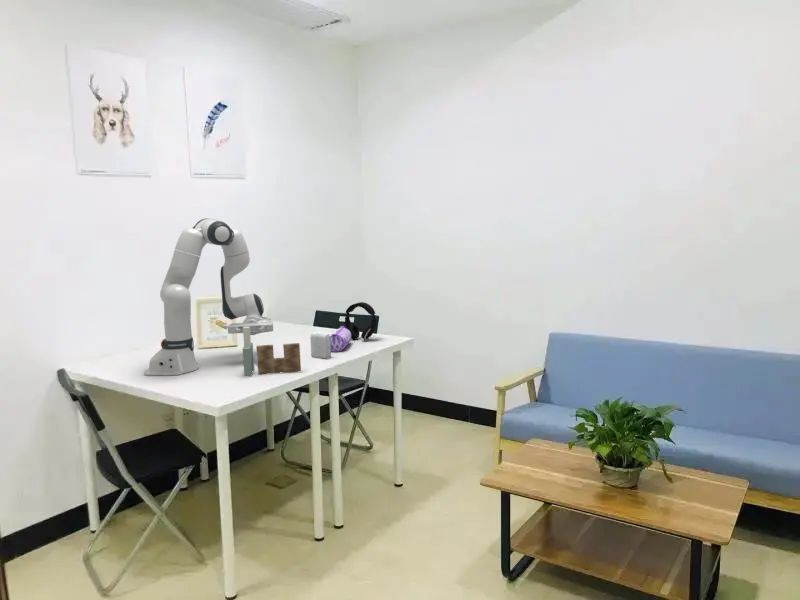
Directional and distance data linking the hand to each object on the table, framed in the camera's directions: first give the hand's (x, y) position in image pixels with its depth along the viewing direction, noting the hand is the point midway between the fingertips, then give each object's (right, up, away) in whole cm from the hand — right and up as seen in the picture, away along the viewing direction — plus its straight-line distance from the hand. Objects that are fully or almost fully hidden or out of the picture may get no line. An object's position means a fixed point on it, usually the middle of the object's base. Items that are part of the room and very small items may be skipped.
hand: (249, 330), depth 275 cm
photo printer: (+30, -13, +17) cm, 37 cm away
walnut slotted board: (+15, -17, -8) cm, 24 cm away
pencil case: (+37, -11, +36) cm, 53 cm away
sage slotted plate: (+2, -18, -8) cm, 20 cm away
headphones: (+47, -8, +52) cm, 70 cm away
